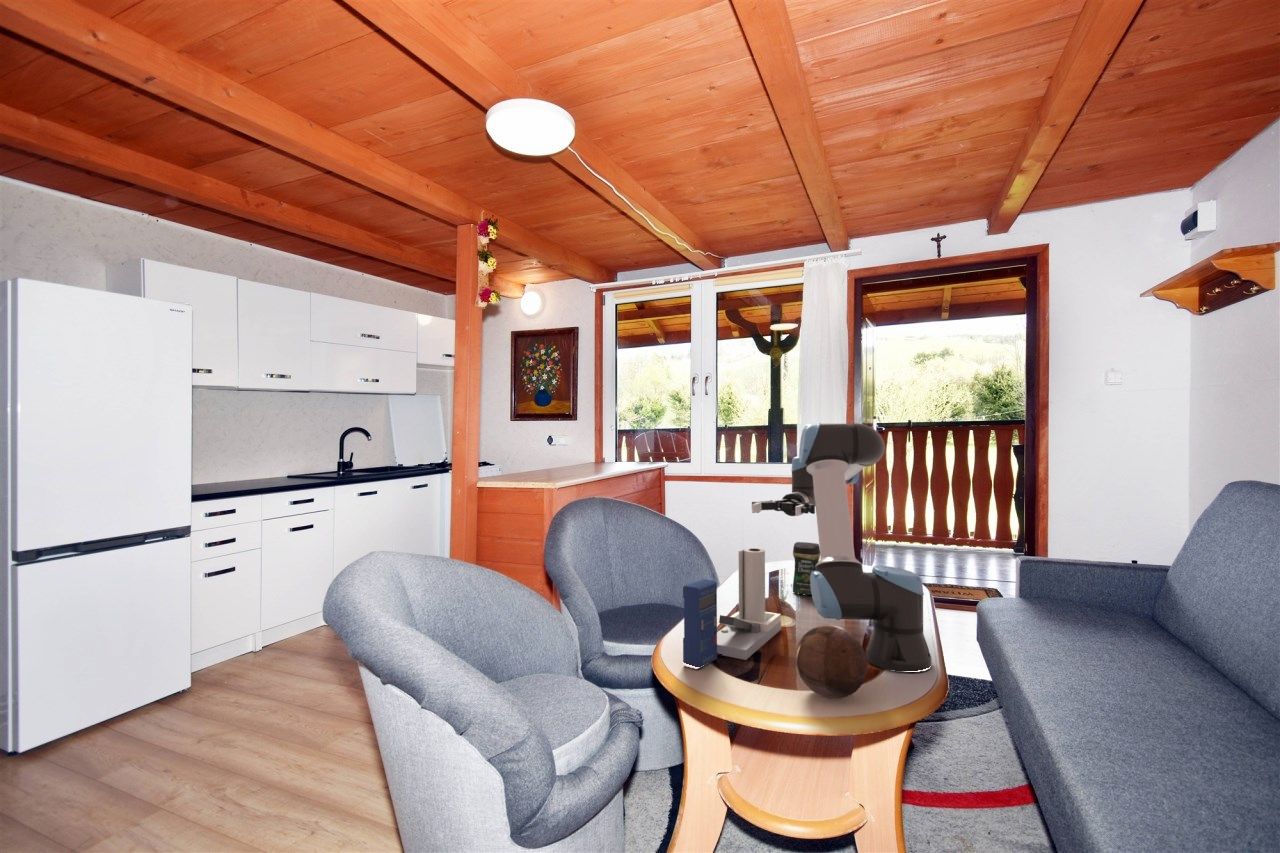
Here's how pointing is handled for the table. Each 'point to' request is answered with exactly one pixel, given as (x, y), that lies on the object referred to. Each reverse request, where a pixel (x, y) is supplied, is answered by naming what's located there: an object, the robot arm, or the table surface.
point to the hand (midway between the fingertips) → (774, 509)
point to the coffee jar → (804, 565)
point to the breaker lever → (735, 623)
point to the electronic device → (700, 622)
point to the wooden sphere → (831, 661)
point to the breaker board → (747, 636)
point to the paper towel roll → (752, 585)
